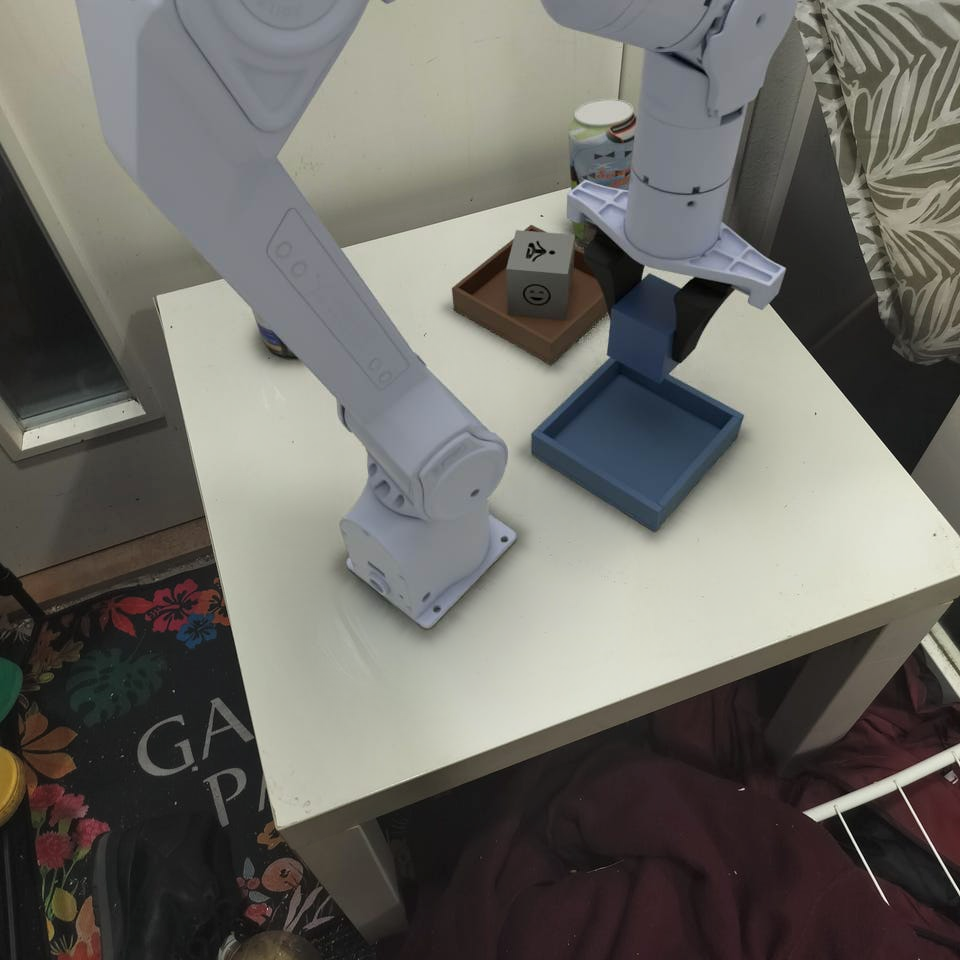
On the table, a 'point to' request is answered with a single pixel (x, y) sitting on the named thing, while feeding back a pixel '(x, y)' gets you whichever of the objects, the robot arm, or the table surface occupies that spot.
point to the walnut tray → (540, 337)
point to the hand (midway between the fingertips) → (653, 337)
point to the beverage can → (601, 149)
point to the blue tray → (636, 439)
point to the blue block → (645, 328)
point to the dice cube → (540, 274)
